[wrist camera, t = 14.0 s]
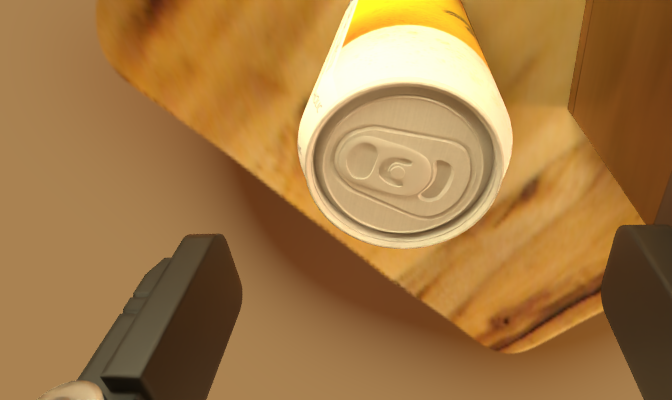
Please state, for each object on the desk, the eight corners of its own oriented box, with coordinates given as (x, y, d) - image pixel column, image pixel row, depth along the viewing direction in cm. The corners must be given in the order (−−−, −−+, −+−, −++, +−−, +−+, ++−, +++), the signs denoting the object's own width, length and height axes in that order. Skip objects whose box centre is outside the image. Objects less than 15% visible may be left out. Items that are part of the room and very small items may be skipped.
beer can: (434, 92, 26) (460, 280, 14) (333, 60, 26) (271, 226, 14) (482, -18, 23) (570, 109, 11) (365, -57, 22) (320, 30, 10)
